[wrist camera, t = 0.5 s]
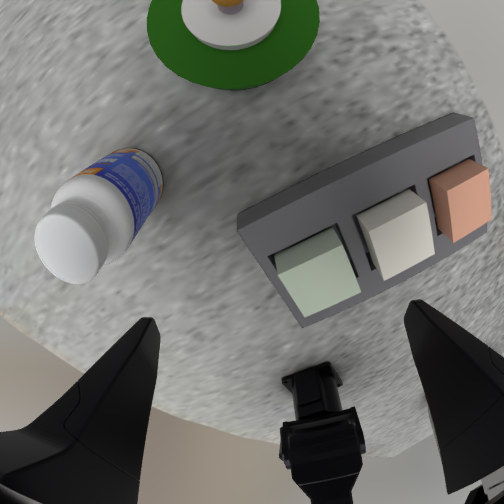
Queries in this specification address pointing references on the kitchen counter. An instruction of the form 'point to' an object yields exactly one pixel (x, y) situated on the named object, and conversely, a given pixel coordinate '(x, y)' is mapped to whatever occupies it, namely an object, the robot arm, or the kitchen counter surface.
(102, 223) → the pill bottle
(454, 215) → the key terracotta
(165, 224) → the kitchen counter surface
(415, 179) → the keypad
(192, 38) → the candle
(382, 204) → the key white
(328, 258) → the key sage
